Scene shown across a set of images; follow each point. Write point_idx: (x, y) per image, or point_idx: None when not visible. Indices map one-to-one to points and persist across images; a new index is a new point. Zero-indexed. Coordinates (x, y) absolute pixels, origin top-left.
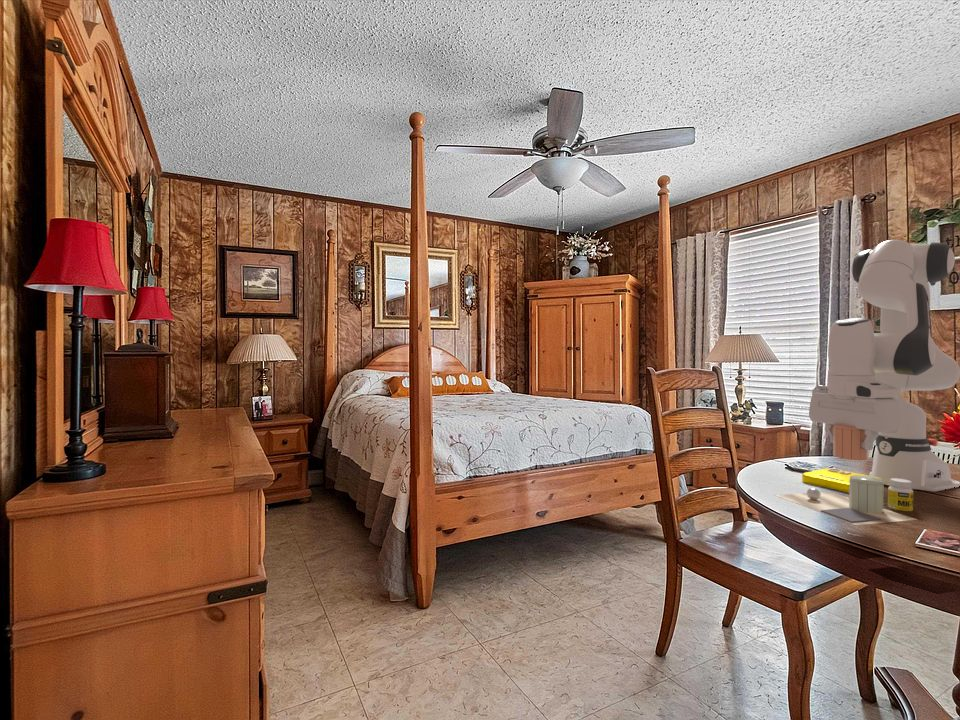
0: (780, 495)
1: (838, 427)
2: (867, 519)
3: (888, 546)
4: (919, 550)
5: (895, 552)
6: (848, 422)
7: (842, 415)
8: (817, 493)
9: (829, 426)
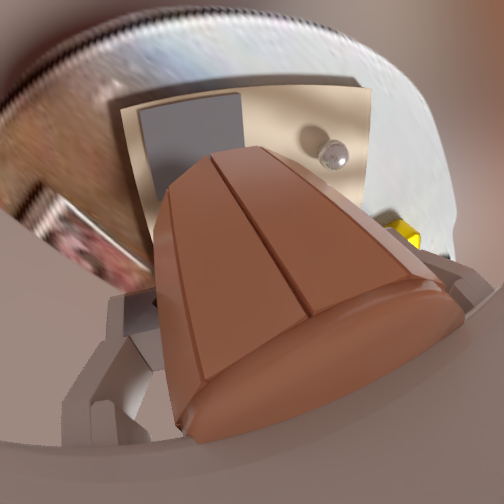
0: (368, 100)
1: (388, 303)
2: (153, 164)
3: (39, 127)
4: (25, 177)
5: (12, 121)
6: (332, 459)
7: (454, 474)
8: (324, 156)
9: (467, 291)
